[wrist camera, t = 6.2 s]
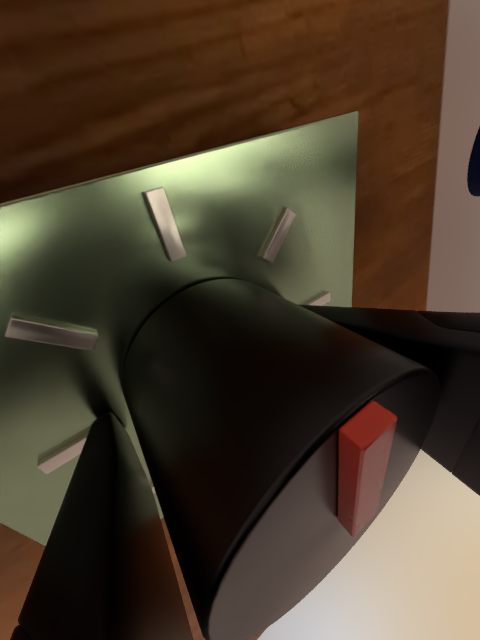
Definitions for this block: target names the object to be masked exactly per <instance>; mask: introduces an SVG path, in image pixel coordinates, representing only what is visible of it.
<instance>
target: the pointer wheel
mask: <svg viewBox="0 0 480 640" xmlns="http://www.w3.org/2000/svg"><path fill="white" fill-rule="evenodd" d="M122 386H123V393H124V398H125V401H126V404H127V407H128V410H129V413H130V416H131V419H132V422H133V425H134V428H135V431H136V434H137V438H138V441H139V444H140V447H141V450H142V453H143V456H144V459H145V462H146V465H147V468H148V471H149V474H150V477H151V480H152V483H153V486H154V489H155V492H156V495H157V498H158V501H159V504H160V507H161V510H162V513H163V516H164V519H165V523H166V526H167V529H168V532H169V535H170V538H171V541H172V544H173V547H174V550H175V553H176V556H177V559H178V562H179V565H180V568H181V571H182V574H183V577H184V580H185V583H186V586H187V589H188V592H189V595H190V598H191V601H192V604H193V608H194V611H195V614H196V617H197V620H198V623H199V626H200V629H201V632H202V634H203V637H204V638H205V639H206V640H247V639H249V638H251V637H253V636H255V635H256V634H258V633H259V632H261V631H263V630H264V629H266V628H267V627H269V626H270V625H271V624H273V623H274V622H275V621H277V620H278V619H279V618H281V617H282V616H283V615H284V614H286V613H287V612H288V611H289V610H291V609H292V608H293V607H294V606H295V605H296V604H297V603H299V602H300V601H301V600H302V599H303V598H304V597H305V596H306V595H307V594H308V593H309V592H311V591H312V590H313V589H314V588H315V586H317V585H318V584H319V583H320V582H321V581H322V580H323V579H324V578H325V577H326V575H327V574H328V573H329V572H330V571H331V570H332V569H333V568H334V567H335V566H336V565H337V564H338V563H339V562H340V561H341V559H342V558H343V557H344V556H345V555H346V554H347V553H348V552H349V550H350V549H351V548H352V547H353V546H354V545H355V543H356V542H357V541H358V540H359V539H360V537H361V536H362V535H363V534H364V532H365V531H366V530H367V529H368V527H369V526H370V525H371V523H372V522H373V521H374V520H375V518H376V517H377V516H378V514H379V513H380V512H381V510H382V509H383V508H384V506H385V505H386V503H387V502H388V501H389V499H390V498H391V496H392V495H393V493H394V492H395V490H396V489H397V487H398V486H399V484H400V483H401V481H402V480H403V478H404V477H405V475H406V473H407V472H408V470H409V468H410V466H411V465H412V463H413V462H414V460H415V458H416V456H417V454H418V453H419V451H420V449H421V447H422V445H423V443H424V441H425V439H426V437H427V435H428V432H429V430H430V428H431V425H432V423H433V420H434V417H435V414H436V411H437V407H438V402H439V395H440V384H439V380H438V378H437V375H436V374H435V373H434V372H433V371H431V370H430V369H429V368H428V367H426V366H423V365H421V364H419V363H417V362H415V361H413V360H411V359H409V358H407V357H405V356H403V355H401V354H399V353H397V352H394V351H392V350H390V349H388V348H386V347H384V346H382V345H380V344H378V343H376V342H374V341H372V340H370V339H368V338H365V337H363V336H361V335H359V334H357V333H355V332H353V331H351V330H349V329H347V328H345V327H343V326H341V325H339V324H336V323H334V322H332V321H330V320H328V319H326V318H324V317H322V316H320V315H318V314H316V313H314V312H312V311H310V310H307V309H305V308H303V307H301V306H299V305H297V304H295V303H293V302H291V301H289V300H287V299H285V298H283V297H281V296H278V295H276V294H274V293H272V292H270V291H268V290H266V289H264V288H262V287H260V286H258V285H255V284H253V283H250V282H248V281H244V280H239V279H218V280H212V281H208V282H203V283H200V284H198V285H195V286H193V287H190V288H188V289H186V290H184V291H182V292H180V293H178V294H177V295H175V296H174V297H172V298H171V299H170V300H168V301H167V302H165V303H164V304H163V305H162V306H161V307H160V308H159V309H157V310H156V311H155V312H154V313H153V314H152V316H151V317H150V318H149V319H148V320H147V321H146V322H145V324H144V325H143V326H142V328H141V329H140V331H139V332H138V334H137V335H136V337H135V339H134V341H133V343H132V345H131V347H130V349H129V352H128V355H127V358H126V361H125V365H124V371H123V385H122Z"/></svg>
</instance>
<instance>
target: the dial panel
mask: <svg viewBox="0 0 480 640" xmlns="http://www.w3.org/2000/svg"><path fill="white" fill-rule="evenodd" d="M358 119H359V112H358V111H353V112H349V113H345V114H341V115H337V116H333V117H329V118H325V119H322V120H318V121H314V122H310V123H306V124H302V125H298V126H294V127H290V128H286V129H283V130H279V131H275V132H271V133H267V134H263V135H259V136H255V137H252V138H248V139H244V140H240V141H236V142H232V143H228V144H225V145H221V146H217V147H213V148H209V149H205V150H201V151H197V152H194V153H190V154H186V155H182V156H178V157H174V158H170V159H166V160H163V161H159V162H155V163H151V164H147V165H143V166H139V167H135V168H132V169H128V170H124V171H120V172H116V173H112V174H108V175H104V176H101V177H97V178H93V179H89V180H85V181H81V182H77V183H74V184H70V185H66V186H62V187H58V188H54V189H50V190H46V191H43V192H39V193H35V194H31V195H27V196H23V197H19V198H15V199H12V200H8V201H4V202H0V523H1V524H3V525H5V526H7V527H9V528H11V529H12V530H14V531H16V532H18V533H20V534H22V535H24V536H26V537H28V538H30V539H32V540H34V541H36V542H38V543H40V544H41V545H43V546H45V547H46V544H47V541H48V539H49V536H50V533H51V531H52V528H53V525H54V523H55V520H56V517H57V515H58V512H59V509H60V507H61V504H62V502H63V499H64V496H65V494H66V491H67V488H68V486H69V483H70V480H71V478H72V475H73V472H74V470H75V467H76V464H77V462H78V459H79V457H80V454H81V451H82V449H83V446H84V443H85V441H86V438H87V435H88V433H89V430H90V427H91V425H92V423H93V421H95V420H96V419H98V418H99V417H101V416H103V415H104V414H106V413H108V412H110V413H112V414H113V415H114V416H115V417H116V418H117V420H118V421H119V422H120V423H121V425H122V426H123V427H124V428H125V430H126V431H127V433H128V434H129V436H130V438H131V441H132V443H133V445H134V448H135V450H136V453H137V455H138V457H139V460H140V462H141V464H142V467H143V469H144V471H145V474H146V476H147V479H148V481H149V484H150V486H151V489H152V491H153V495H154V498H155V501H156V505H157V509H158V512H159V516H160V519H162V518H163V517H164V516H163V513H162V510H161V507H160V504H159V501H158V498H157V495H156V492H155V489H154V486H153V483H152V480H151V477H150V474H149V471H148V468H147V465H146V462H145V459H144V456H143V453H142V450H141V447H140V444H139V441H138V438H137V434H136V431H135V428H134V425H133V422H132V419H131V416H130V413H129V410H128V407H127V404H126V401H125V398H124V393H123V386H122V385H123V371H124V365H125V361H126V358H127V355H128V352H129V349H130V347H131V345H132V343H133V341H134V339H135V337H136V335H137V334H138V332H139V331H140V329H141V328H142V326H143V325H144V324H145V322H146V321H147V320H148V319H149V318H150V317H151V316H152V314H153V313H154V312H155V311H156V310H157V309H159V308H160V307H161V306H162V305H163V304H164V303H165V302H167V301H168V300H170V299H171V298H172V297H174V296H175V295H177V294H178V293H180V292H182V291H184V290H186V289H188V288H190V287H193V286H195V285H198V284H200V283H203V282H208V281H212V280H218V279H239V280H244V281H248V282H250V283H253V284H255V285H258V286H260V287H262V288H264V289H266V290H268V291H270V292H272V293H274V294H276V295H278V296H281V297H283V298H285V299H287V300H289V301H291V302H293V303H295V304H298V305H317V306H337V307H352V283H353V256H354V228H355V201H356V174H357V146H358Z"/></svg>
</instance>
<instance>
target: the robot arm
mask: <svg viewBox="0 0 480 640" xmlns="http://www.w3.org/2000/svg"><path fill="white" fill-rule="evenodd" d="M297 305H298V304H297ZM299 306H301V307H303V308H305V309H307V310H310V311H312V312H314V313H316V314H318V315H320V316H322V317H324V318H326V319H328V320H330V321H332V322H334V323H336V324H339V325H341V326H343V327H345V328H347V329H349V330H351V331H353V332H355V333H357V334H359V335H361V336H363V337H365V338H368V339H370V340H372V341H374V342H376V343H378V344H380V345H382V346H384V347H386V348H388V349H390V350H392V351H394V352H397V353H399V354H401V355H403V356H405V357H407V358H409V359H411V360H413V361H415V362H417V363H419V364H421V365H423V366H426V367H428V368H429V369H430V370H431V371H433V372H434V373H435V374H436V375H437V378H438V380H439V384H440V395H439V402H438V407H437V411H436V414H435V417H434V420H433V423H432V425H431V428H430V430H429V432H428V435H427V437H426V439H425V441H424V443H423V445H422V447H421V449H422V450H423V451H424V452H425V453H427V454H428V455H429V456H430V457H432V458H433V459H434V460H436V461H437V462H438V463H439V464H441V465H442V466H443V467H444V468H446V469H447V470H448V471H449V472H452V474H453V475H454V476H455V477H457V478H458V479H459V480H460V481H462V482H463V483H464V484H466V485H467V486H468V487H469V488H471V489H472V490H473V491H474V492H476V493H477V494H478V495H480V313H459V312H457V313H456V312H432V311H418V312H417V311H414V310H394V309H375V308H356V307H337V306H317V305H299ZM18 623H19V624H20V625H18V626H16V627H15V629H14V631H13V633H12V636H11V639H10V640H193V636H192V633H191V629H190V625H189V622H188V618H187V614H186V611H185V607H184V604H183V600H182V596H181V593H180V589H179V585H178V582H177V578H176V574H175V571H174V567H173V563H172V560H171V556H170V552H169V549H168V545H167V541H166V538H165V534H164V530H163V527H162V523H161V519H160V516H159V512H158V509H157V505H156V501H155V498H154V495H153V491H152V489H151V486H150V484H149V481H148V479H147V476H146V474H145V471H144V469H143V467H142V464H141V462H140V460H139V457H138V455H137V453H136V450H135V448H134V445H133V443H132V441H131V438H130V436H129V434H128V433H127V431H126V430H125V428H124V427H123V426H122V425H121V423H120V422H119V421H118V420H117V418H116V417H115V416H114V415H113V414H112V413H110V412H108V413H106V414H104V415H103V416H101V417H99V418H98V419H96V420H95V421H93V423H92V425H91V427H90V430H89V433H88V435H87V438H86V441H85V443H84V446H83V449H82V451H81V454H80V457H79V459H78V462H77V464H76V467H75V470H74V472H73V475H72V478H71V480H70V483H69V486H68V488H67V491H66V494H65V496H64V499H63V502H62V504H61V507H60V509H59V512H58V515H57V517H56V520H55V523H54V525H53V528H52V531H51V533H50V536H49V539H48V541H47V544H46V547H45V549H44V552H43V555H42V557H41V560H40V562H39V565H38V568H37V570H36V573H35V576H34V578H33V581H32V584H31V586H30V589H29V592H28V594H27V597H26V600H25V602H24V605H23V608H22V610H21V613H20V615H19V618H18Z"/></svg>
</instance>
